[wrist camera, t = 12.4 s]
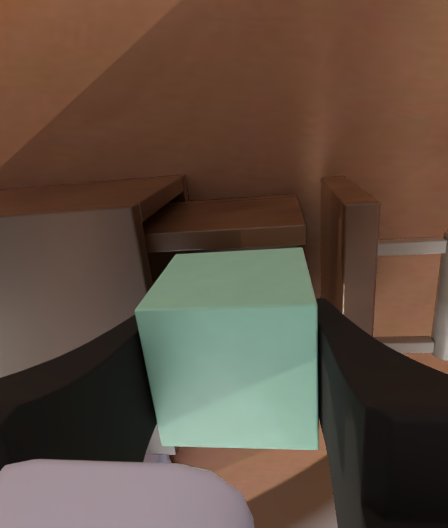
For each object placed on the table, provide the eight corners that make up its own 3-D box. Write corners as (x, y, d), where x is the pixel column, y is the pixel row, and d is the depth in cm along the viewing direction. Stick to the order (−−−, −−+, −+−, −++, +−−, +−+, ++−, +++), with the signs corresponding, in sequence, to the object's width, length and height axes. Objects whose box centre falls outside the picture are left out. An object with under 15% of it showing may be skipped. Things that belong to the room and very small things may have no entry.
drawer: (447, 167, 18) (540, 191, 12) (426, 346, 22) (489, 438, 15) (115, 192, 21) (47, 223, 14) (146, 349, 24) (102, 428, 18)
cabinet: (185, 174, 21) (131, 206, 13) (207, 348, 25) (177, 455, 17) (-28, 191, 23) (-190, 229, 15) (25, 350, 27) (-80, 447, 19)
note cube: (302, 246, 12) (317, 304, 8) (305, 358, 14) (318, 450, 10) (175, 253, 13) (133, 309, 9) (191, 359, 14) (161, 447, 10)
